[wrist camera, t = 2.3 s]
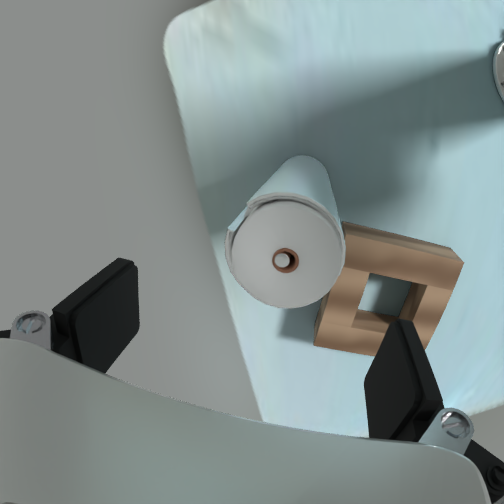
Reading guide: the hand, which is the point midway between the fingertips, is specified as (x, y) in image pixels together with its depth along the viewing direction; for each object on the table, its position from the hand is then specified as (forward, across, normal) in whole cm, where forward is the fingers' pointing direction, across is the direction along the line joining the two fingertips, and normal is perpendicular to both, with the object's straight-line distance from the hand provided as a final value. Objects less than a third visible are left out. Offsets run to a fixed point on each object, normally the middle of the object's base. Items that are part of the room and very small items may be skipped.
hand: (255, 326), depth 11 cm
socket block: (+30, -15, +12) cm, 36 cm away
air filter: (+31, -1, 0) cm, 31 cm away
